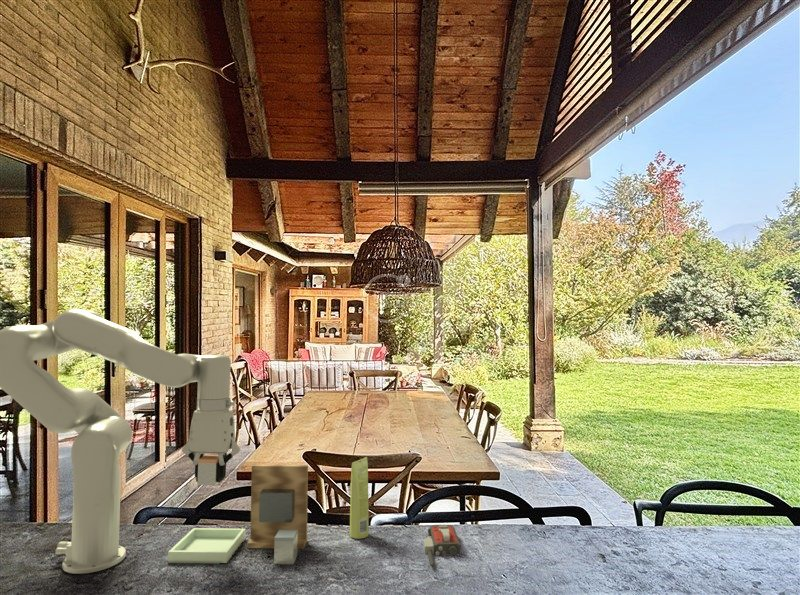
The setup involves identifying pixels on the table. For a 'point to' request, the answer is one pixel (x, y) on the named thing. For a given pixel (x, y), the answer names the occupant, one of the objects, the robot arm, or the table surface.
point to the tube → (359, 500)
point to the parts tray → (207, 545)
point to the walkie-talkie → (441, 542)
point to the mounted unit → (278, 503)
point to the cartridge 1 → (207, 470)
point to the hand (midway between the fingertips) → (210, 479)
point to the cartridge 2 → (285, 546)
